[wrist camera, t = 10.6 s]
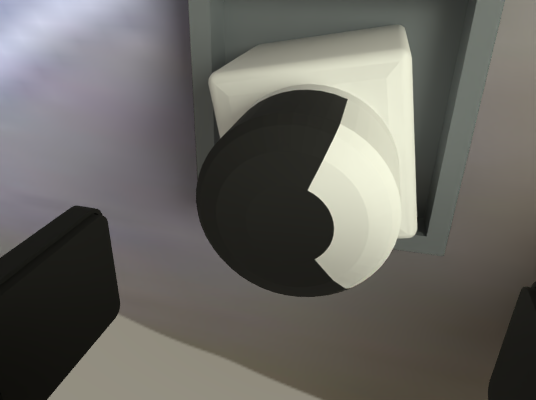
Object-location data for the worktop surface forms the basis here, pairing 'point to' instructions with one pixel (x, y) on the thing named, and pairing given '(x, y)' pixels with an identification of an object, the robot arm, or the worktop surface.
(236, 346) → the worktop surface
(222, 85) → the medicine bottle
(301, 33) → the tray
